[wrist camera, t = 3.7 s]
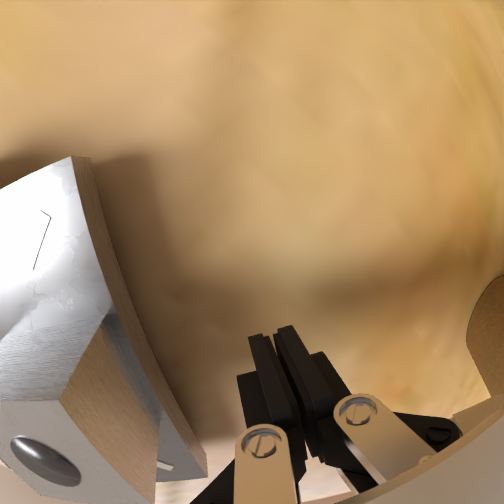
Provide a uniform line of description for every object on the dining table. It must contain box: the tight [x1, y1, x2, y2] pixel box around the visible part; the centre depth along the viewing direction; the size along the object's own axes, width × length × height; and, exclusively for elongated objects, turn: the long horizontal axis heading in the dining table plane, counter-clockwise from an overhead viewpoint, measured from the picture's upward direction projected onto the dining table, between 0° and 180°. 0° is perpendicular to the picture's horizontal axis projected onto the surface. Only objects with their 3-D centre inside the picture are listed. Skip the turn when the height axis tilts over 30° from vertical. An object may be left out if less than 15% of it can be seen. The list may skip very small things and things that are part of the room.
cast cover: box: [0, 315, 160, 504], centre depth 8 cm, size 6×6×5 cm
